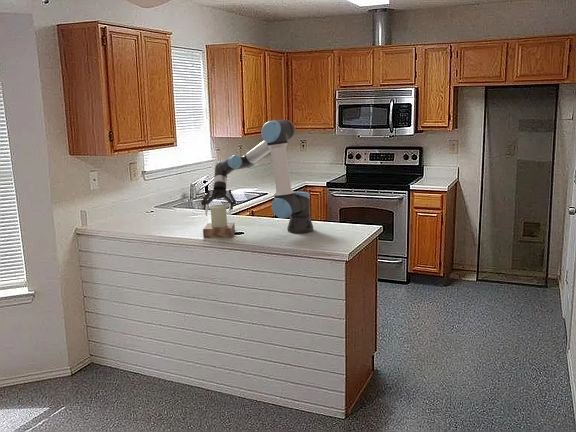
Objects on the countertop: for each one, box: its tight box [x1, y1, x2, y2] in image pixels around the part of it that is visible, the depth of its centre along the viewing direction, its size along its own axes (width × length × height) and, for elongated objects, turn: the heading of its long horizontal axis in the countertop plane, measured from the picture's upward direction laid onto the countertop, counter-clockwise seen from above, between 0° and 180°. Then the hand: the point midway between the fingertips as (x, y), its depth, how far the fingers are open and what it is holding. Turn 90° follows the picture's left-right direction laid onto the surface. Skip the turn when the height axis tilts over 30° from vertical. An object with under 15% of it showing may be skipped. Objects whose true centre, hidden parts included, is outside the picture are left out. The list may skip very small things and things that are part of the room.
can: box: [210, 204, 228, 228], centre depth 324 cm, size 9×9×12 cm
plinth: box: [202, 222, 236, 239], centre depth 326 cm, size 16×16×5 cm
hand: (217, 214), depth 323 cm, fingers open, 13 cm apart
